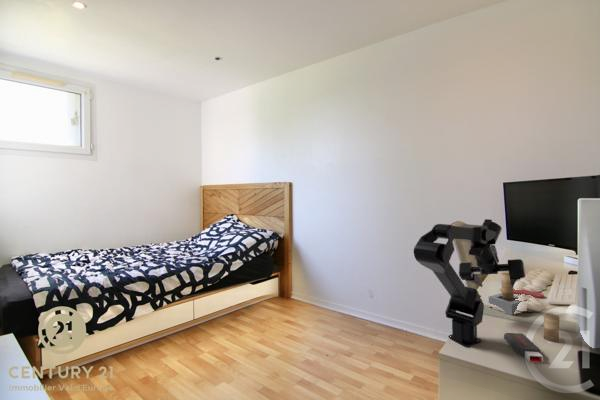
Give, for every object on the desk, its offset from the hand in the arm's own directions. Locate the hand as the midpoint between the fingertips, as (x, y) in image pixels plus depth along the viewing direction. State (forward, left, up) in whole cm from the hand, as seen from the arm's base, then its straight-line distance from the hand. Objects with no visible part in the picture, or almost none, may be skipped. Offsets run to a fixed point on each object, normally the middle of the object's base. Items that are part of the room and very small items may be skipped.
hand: (496, 285), depth 106 cm
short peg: (-1, -17, -11) cm, 20 cm away
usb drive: (-13, -17, -12) cm, 25 cm away
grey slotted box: (+9, +2, -11) cm, 14 cm away
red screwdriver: (+27, +9, -12) cm, 31 cm away
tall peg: (+9, +2, -11) cm, 14 cm away
